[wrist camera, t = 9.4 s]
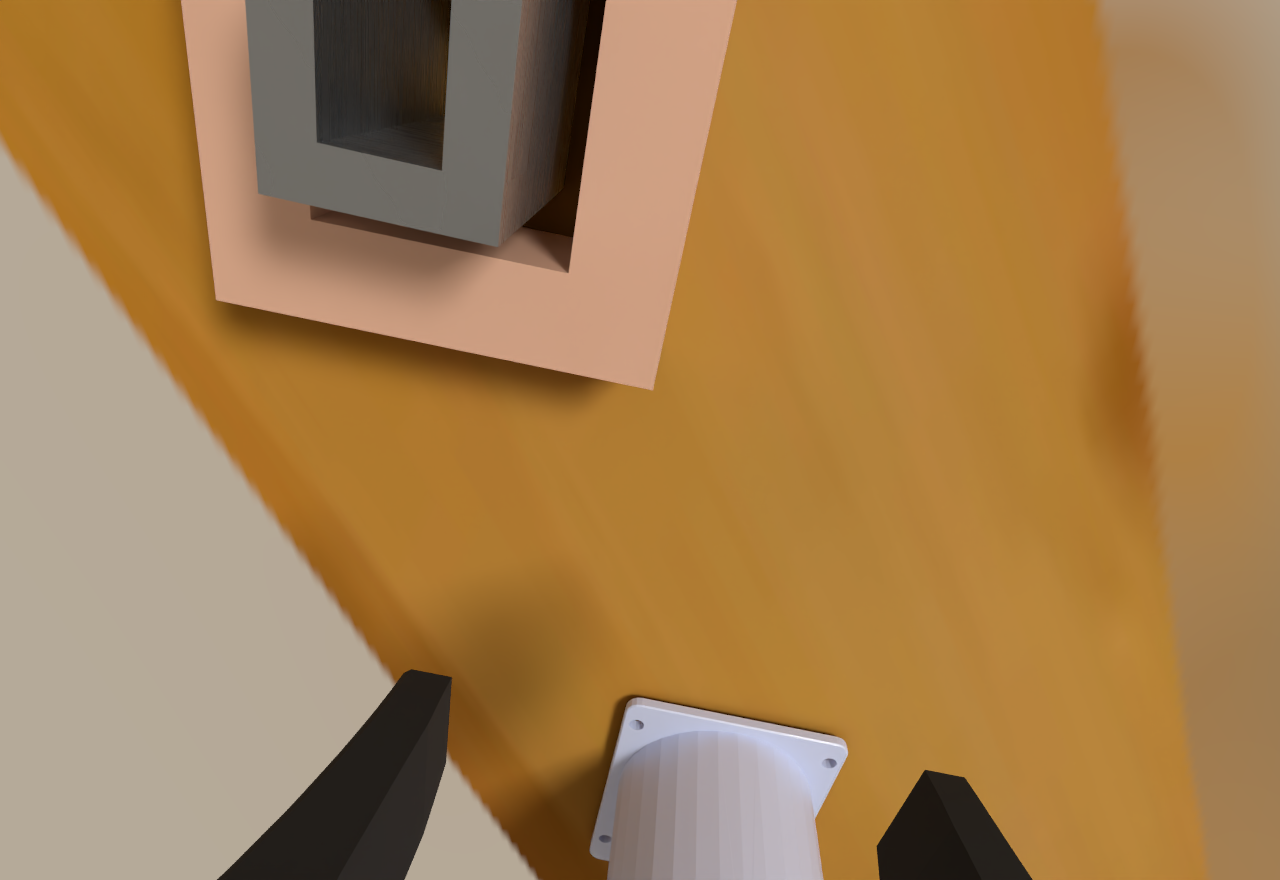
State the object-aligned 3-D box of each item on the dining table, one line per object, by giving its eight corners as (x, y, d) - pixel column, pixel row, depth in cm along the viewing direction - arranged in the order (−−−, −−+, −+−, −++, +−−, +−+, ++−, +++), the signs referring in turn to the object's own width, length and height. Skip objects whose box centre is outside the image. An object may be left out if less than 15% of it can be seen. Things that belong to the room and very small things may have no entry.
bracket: (563, 188, 17) (498, 247, 11) (399, 151, 17) (258, 193, 11) (590, -5, 15) (526, -41, 10) (405, -48, 15) (237, -108, 9)
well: (660, 343, 18) (652, 390, 16) (286, 265, 18) (216, 300, 16) (762, -131, 14) (775, -178, 11) (254, -243, 13) (143, -316, 11)
